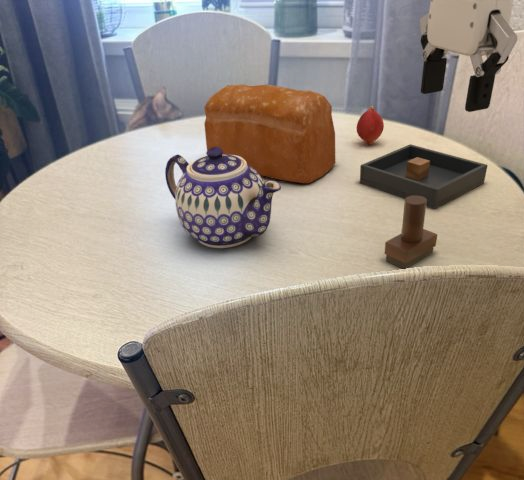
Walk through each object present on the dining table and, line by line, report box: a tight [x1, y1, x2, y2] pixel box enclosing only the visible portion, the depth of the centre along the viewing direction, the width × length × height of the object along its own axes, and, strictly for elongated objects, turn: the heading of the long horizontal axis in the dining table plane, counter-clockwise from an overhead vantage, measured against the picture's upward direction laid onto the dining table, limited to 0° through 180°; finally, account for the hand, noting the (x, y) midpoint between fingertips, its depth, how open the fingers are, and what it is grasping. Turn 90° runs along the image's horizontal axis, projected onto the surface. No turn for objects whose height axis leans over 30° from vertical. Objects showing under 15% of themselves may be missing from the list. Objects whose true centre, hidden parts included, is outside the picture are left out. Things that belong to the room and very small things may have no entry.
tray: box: [359, 143, 488, 210], centre depth 100 cm, size 18×15×4 cm
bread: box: [204, 83, 336, 184], centre depth 109 cm, size 14×26×16 cm, turn 55°
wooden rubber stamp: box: [384, 195, 438, 270], centre depth 78 cm, size 7×4×9 cm, turn 129°
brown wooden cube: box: [406, 157, 430, 181], centre depth 100 cm, size 3×3×3 cm
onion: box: [356, 105, 385, 145], centre depth 117 cm, size 6×6×8 cm
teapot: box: [164, 147, 282, 249], centre depth 86 cm, size 25×15×15 cm, turn 48°
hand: (452, 100), depth 69 cm, fingers open, 9 cm apart
